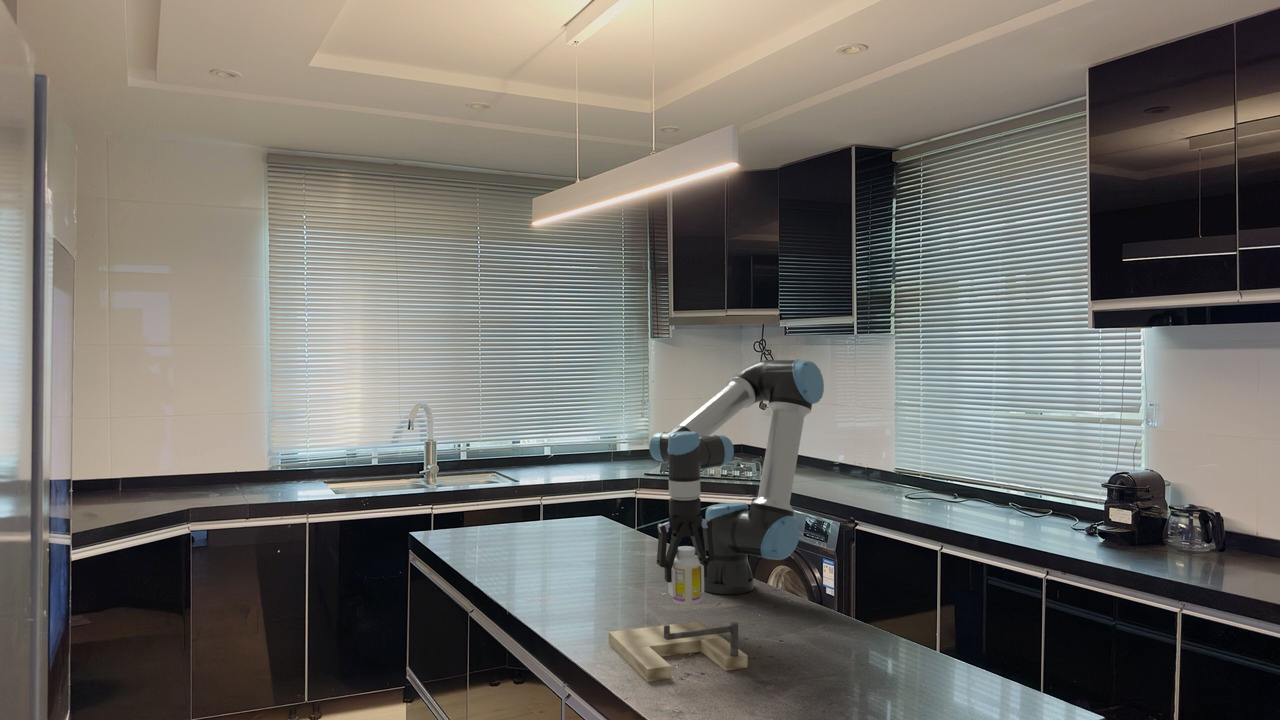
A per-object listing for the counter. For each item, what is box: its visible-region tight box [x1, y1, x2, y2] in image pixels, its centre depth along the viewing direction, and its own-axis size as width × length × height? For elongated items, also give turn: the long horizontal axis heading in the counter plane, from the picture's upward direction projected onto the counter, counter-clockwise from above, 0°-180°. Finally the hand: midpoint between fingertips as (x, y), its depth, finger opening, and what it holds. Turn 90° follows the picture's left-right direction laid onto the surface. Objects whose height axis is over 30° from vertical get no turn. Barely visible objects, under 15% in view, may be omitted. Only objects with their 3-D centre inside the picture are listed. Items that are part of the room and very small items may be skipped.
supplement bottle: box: [672, 545, 702, 606], centre depth 202 cm, size 7×7×13 cm
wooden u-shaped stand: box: [608, 620, 749, 683], centre depth 182 cm, size 22×24×10 cm
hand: (686, 593), depth 203 cm, fingers closed on supplement bottle, 7 cm apart
